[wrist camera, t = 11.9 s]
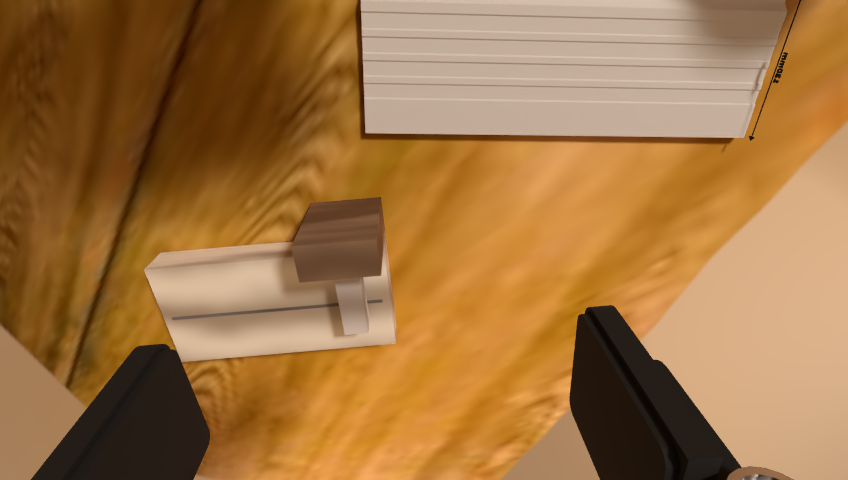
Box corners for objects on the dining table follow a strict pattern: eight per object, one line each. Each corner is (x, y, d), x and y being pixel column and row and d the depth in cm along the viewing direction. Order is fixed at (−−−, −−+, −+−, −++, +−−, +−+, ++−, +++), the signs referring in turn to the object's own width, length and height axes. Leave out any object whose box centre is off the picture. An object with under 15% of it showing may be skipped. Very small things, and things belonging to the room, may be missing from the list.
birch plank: (160, 252, 40) (143, 269, 38) (385, 233, 40) (383, 249, 38) (194, 340, 45) (181, 362, 42) (396, 323, 45) (395, 343, 42)
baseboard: (360, -45, 31) (366, 128, 37) (357, -49, 29) (364, 137, 34) (788, -32, 33) (732, 133, 38) (820, -35, 30) (756, 142, 36)
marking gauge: (311, 203, 39) (290, 246, 32) (380, 197, 39) (376, 239, 32) (330, 299, 43) (316, 356, 36) (392, 294, 43) (391, 349, 36)
